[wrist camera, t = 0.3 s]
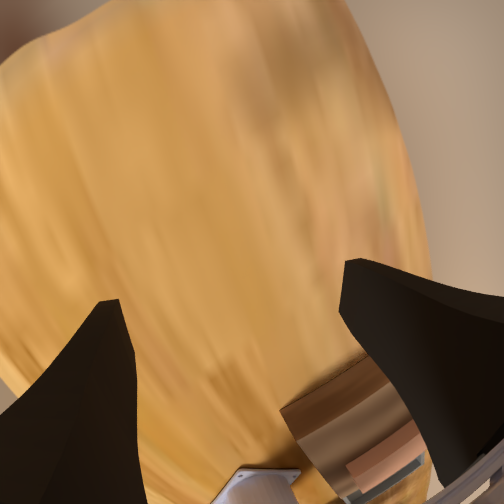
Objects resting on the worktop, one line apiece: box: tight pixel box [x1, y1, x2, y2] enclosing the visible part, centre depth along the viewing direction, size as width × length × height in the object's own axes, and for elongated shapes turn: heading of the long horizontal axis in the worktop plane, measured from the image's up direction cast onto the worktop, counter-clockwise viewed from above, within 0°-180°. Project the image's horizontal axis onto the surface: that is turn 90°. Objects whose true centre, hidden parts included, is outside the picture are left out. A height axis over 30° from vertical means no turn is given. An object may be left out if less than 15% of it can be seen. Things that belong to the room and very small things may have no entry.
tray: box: [343, 452, 424, 504], centre depth 35 cm, size 14×14×2 cm
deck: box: [280, 356, 413, 499], centre depth 28 cm, size 18×14×4 cm
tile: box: [345, 419, 427, 494], centre depth 26 cm, size 6×9×2 cm, turn 116°
